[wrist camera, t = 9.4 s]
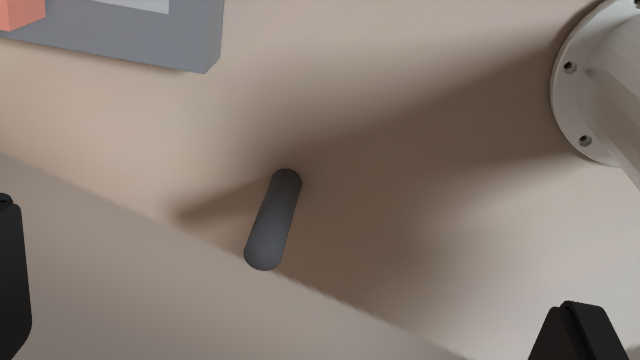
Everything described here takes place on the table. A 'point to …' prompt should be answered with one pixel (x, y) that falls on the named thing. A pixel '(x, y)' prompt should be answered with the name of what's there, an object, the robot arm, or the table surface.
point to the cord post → (273, 221)
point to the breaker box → (133, 30)
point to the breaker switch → (20, 13)
